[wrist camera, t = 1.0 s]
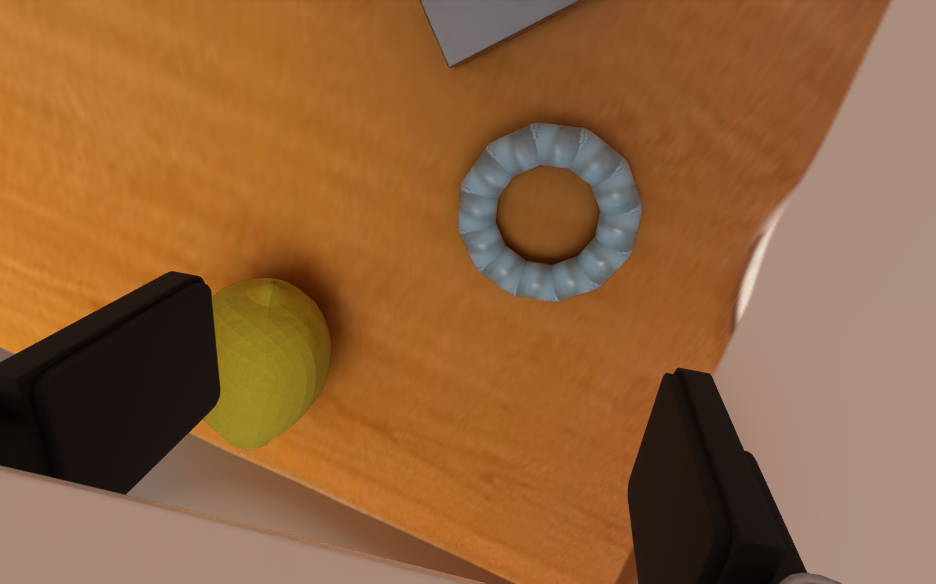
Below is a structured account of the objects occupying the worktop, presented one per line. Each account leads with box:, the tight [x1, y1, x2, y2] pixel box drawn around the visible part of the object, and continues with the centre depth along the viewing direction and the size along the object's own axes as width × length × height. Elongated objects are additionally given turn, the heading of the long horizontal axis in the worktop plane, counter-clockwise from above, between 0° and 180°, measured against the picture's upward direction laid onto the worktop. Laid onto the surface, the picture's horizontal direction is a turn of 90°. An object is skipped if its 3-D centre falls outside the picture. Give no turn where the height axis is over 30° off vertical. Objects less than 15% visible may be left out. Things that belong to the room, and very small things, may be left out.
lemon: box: [203, 278, 331, 450], centre depth 31 cm, size 11×8×8 cm
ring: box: [458, 123, 642, 302], centre depth 27 cm, size 9×9×2 cm
